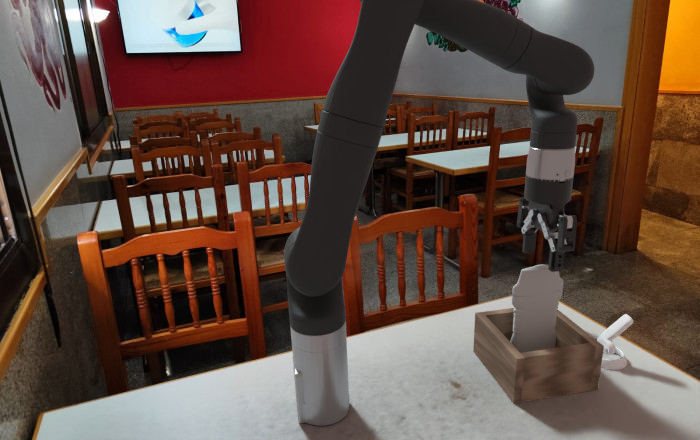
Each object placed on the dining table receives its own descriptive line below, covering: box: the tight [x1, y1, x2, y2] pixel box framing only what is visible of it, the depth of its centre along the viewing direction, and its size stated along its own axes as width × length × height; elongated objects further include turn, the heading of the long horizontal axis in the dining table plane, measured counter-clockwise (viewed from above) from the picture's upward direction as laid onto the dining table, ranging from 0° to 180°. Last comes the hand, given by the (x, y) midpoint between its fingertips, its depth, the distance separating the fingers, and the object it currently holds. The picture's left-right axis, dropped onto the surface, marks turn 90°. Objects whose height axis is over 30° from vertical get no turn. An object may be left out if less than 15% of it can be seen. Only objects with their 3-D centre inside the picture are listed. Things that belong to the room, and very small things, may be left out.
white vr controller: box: [596, 313, 634, 371], centre depth 94 cm, size 8×12×7 cm
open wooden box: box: [473, 307, 604, 404], centre depth 91 cm, size 16×16×9 cm
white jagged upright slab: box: [510, 263, 564, 353], centre depth 89 cm, size 11×4×22 cm, turn 105°
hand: (541, 261), depth 86 cm, fingers open, 8 cm apart
